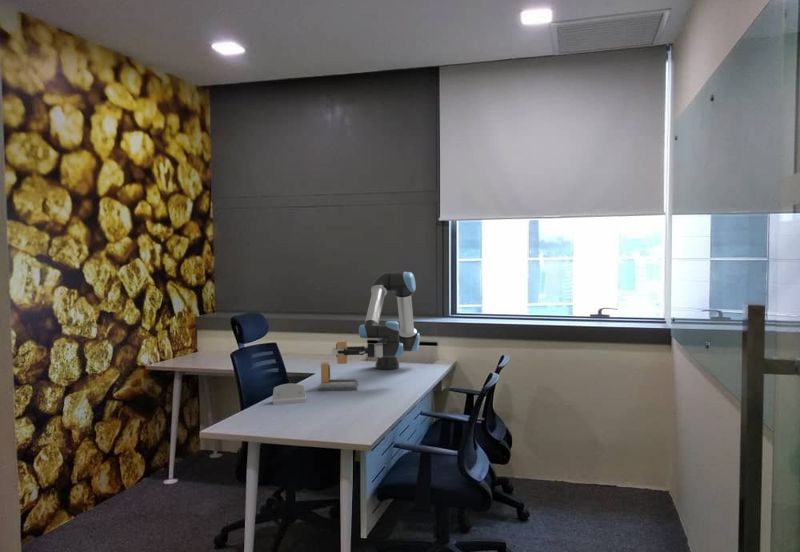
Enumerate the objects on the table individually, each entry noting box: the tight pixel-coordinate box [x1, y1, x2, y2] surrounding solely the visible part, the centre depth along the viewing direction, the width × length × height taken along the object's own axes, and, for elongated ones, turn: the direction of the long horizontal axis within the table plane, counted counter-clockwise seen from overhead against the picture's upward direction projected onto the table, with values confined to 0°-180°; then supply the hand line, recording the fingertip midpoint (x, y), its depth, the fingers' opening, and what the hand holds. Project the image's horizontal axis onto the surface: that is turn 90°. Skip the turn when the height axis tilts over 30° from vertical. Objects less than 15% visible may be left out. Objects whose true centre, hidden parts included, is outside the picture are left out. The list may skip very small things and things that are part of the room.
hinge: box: [271, 383, 307, 406], centre depth 286 cm, size 17×5×10 cm, turn 102°
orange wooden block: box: [335, 339, 348, 365], centre depth 311 cm, size 5×6×12 cm
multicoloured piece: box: [318, 361, 359, 392], centre depth 312 cm, size 14×20×14 cm
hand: (332, 351), depth 311 cm, fingers closed on orange wooden block, 5 cm apart
